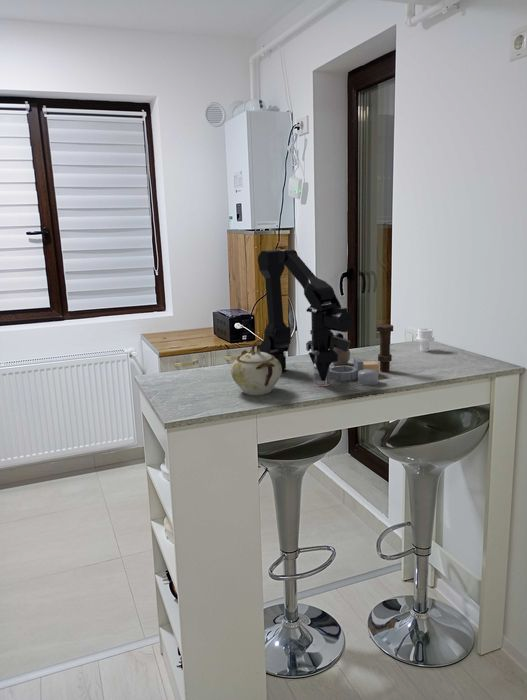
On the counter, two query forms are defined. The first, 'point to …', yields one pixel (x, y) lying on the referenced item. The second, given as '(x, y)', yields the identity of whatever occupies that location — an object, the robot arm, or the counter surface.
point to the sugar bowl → (256, 371)
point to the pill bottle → (318, 380)
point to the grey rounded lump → (367, 377)
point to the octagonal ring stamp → (351, 370)
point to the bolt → (384, 346)
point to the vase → (342, 357)
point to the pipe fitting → (424, 338)
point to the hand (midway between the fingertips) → (321, 378)
